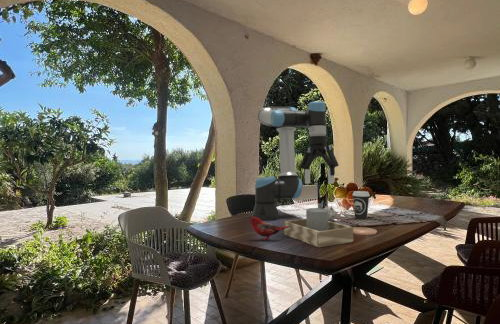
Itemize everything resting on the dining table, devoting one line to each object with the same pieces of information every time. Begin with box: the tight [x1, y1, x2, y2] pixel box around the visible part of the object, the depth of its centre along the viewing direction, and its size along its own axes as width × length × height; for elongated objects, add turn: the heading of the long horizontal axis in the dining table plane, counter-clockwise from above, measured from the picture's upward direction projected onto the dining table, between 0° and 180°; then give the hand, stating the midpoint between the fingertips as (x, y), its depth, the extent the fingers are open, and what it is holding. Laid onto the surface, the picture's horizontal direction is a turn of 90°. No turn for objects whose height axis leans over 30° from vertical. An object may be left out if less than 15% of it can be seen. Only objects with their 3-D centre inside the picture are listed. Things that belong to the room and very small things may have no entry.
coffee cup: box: [351, 190, 371, 220], centre depth 194 cm, size 10×10×15 cm
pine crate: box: [283, 218, 354, 248], centre depth 149 cm, size 24×18×6 cm
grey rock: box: [323, 205, 339, 222], centre depth 186 cm, size 9×8×10 cm
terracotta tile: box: [353, 226, 378, 236], centre depth 160 cm, size 12×12×1 cm
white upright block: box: [305, 207, 329, 231], centre depth 149 cm, size 10×10×12 cm
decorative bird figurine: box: [248, 217, 290, 241], centre depth 145 cm, size 3×18×10 cm, turn 84°
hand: (319, 183), depth 152 cm, fingers open, 13 cm apart
